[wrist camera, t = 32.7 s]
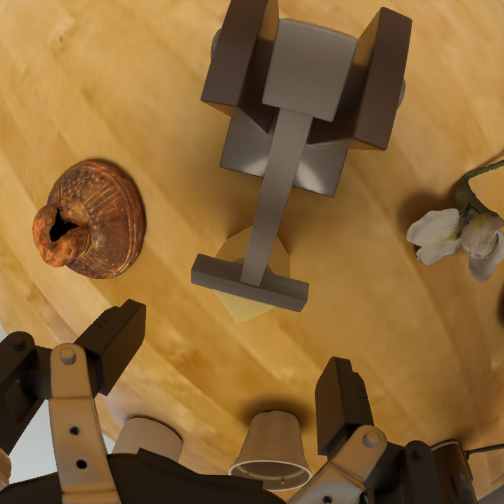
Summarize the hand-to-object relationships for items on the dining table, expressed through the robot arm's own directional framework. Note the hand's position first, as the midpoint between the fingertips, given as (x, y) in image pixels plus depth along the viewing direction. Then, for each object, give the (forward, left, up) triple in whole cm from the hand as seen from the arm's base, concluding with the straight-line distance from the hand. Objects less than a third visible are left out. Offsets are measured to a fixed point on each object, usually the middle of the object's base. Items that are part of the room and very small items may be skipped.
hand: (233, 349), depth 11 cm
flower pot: (-8, +23, -14) cm, 28 cm away
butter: (0, +1, -14) cm, 14 cm away
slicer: (0, -11, -14) cm, 18 cm away
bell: (+16, +2, -14) cm, 21 cm away
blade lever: (0, -6, -4) cm, 7 cm away
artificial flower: (-19, -12, -14) cm, 27 cm away
